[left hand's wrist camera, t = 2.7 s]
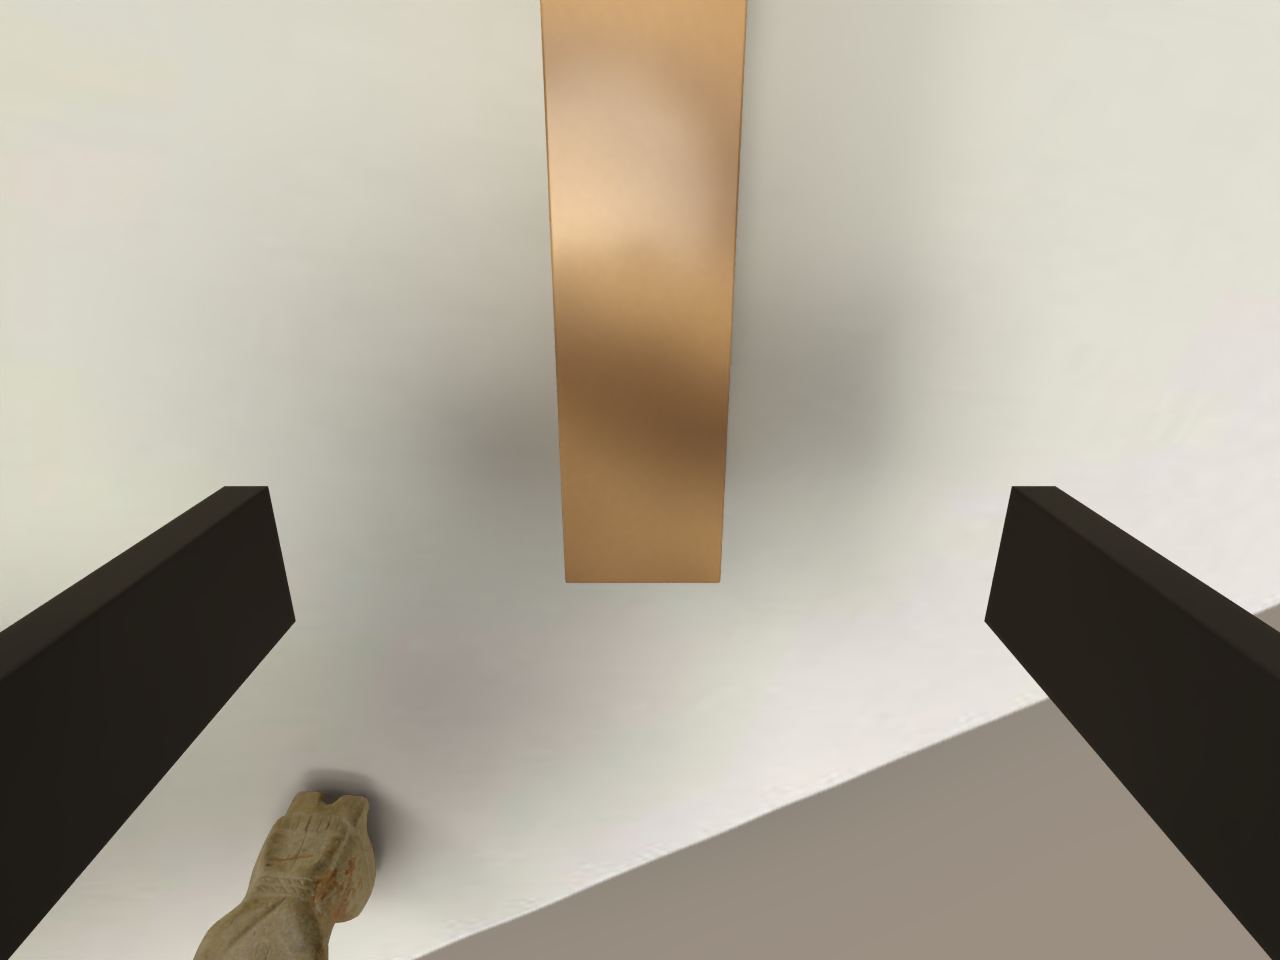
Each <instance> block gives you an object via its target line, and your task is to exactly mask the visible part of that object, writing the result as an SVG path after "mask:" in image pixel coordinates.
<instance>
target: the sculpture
mask: <svg viewBox="0 0 1280 960" xmlns="http://www.w3.org/2000/svg"><path fill="white" fill-rule="evenodd" d="M368 811H369V803H368V800H367V799H366V798H365V797H362V796H354V795H342V796H341V797H339V799H338V800H336V801H335V802H333V803H332V804H329V805H326V796H325V795H324V794H323V793H321V792H313V791H306V792H300V793H298V794H297V795H296V796H295V798H294V800H293V802H292V804H291V805H290V807H289V809H288V811H287V813H286V816H283V817H281V818H280V819H279V820H277V822H276V823H275V824H274V826H273V827H272V829H271V831H270V833H269V835H268V837H267V839H266V841H265V843H264V845H263V847H262V849H261V851H260V854H259V856H258V859H257V861H256V864H255V866H254V869H253V872H252V876H251V879H250V883H249V887H248V891H247V894H246V896H245V898H244V899H243V901H242V902H241V903H240V904H239V905H238V906H237V907H236V908H234V909H233V910H232V911H231V912H229V913H228V914H227V915H225V916H224V917H223V918H221V919H220V920H219V921H217V922H216V923H215V924H214V925H213V926H212V927H211V928H210V929H209V930H208V931H207V933H206V935H205V936H204V938H203V940H202V942H201V944H200V946H199V947H198V950H197V952H196V954H195V957H194V959H193V960H328V943H329V939H330V935H331V932H332V929H333V926H334V924H335V923H340V922H346V921H349V920H351V919H353V918H355V917H357V916H358V915H359V914H360V913H361V911H362V910H363V908H364V906H365V905H366V903H367V901H368V899H369V897H370V895H371V892H372V889H373V886H374V881H375V876H376V864H375V857H374V852H373V847H372V844H371V841H370V839H369V836H368V833H367V814H368Z"/></svg>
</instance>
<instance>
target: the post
mask: <svg viewBox="0 0 1280 960" xmlns="http://www.w3.org/2000/svg"><path fill="white" fill-rule="evenodd" d="M540 7H541V30H542V53H543V76H544V100H545V123H546V146H547V169H548V192H549V215H550V238H551V261H552V284H553V307H554V330H555V354H556V377H557V400H558V423H559V446H560V469H561V492H562V515H563V538H564V561H565V581H566V582H567V583H719V582H720V575H721V554H722V532H723V511H724V489H725V468H726V447H727V425H728V404H729V382H730V361H731V339H732V318H733V296H734V275H735V253H736V232H737V210H738V189H739V167H740V146H741V124H742V103H743V81H744V60H745V38H746V17H747V0H540Z"/></svg>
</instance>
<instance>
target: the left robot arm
mask: <svg viewBox="0 0 1280 960" xmlns="http://www.w3.org/2000/svg"><path fill="white" fill-rule="evenodd" d="M294 622H295V616H294V611H293V606H292V601H291V596H290V591H289V586H288V582H287V577H286V572H285V567H284V562H283V557H282V552H281V547H280V542H279V538H278V533H277V528H276V523H275V518H274V513H273V508H272V503H271V498H270V494H269V489H268V486H224V487H223V488H221V489H220V490H218V491H217V492H215V493H214V494H212V495H211V496H209V497H207V498H206V499H204V500H203V501H201V502H200V503H198V504H197V505H195V506H194V507H192V508H191V509H189V510H187V511H186V512H184V513H183V514H181V515H180V516H178V517H177V518H175V519H174V520H172V521H171V522H169V523H168V524H166V525H164V526H163V527H161V528H160V529H158V530H157V531H155V532H154V533H152V534H151V535H149V536H148V537H146V538H145V539H143V540H141V541H140V542H138V543H137V544H135V545H134V546H132V547H131V548H129V549H128V550H126V551H125V552H123V553H121V554H120V555H118V556H117V557H115V558H114V559H112V560H111V561H109V562H108V563H106V564H105V565H103V566H102V567H100V568H98V569H97V570H95V571H94V572H92V573H91V574H89V575H88V576H86V577H85V578H83V579H82V580H80V581H79V582H77V583H75V584H74V585H72V586H71V587H69V588H68V589H66V590H65V591H63V592H62V593H60V594H59V595H57V596H55V597H54V598H52V599H51V600H49V601H48V602H46V603H45V604H43V605H42V606H40V607H39V608H37V609H36V610H34V611H32V612H31V613H29V614H28V615H26V616H25V617H23V618H22V619H20V620H19V621H17V622H16V623H14V624H13V625H11V626H9V627H8V628H6V629H5V630H3V631H2V632H0V960H8V959H9V958H10V957H11V955H12V954H13V953H14V952H15V951H16V950H17V948H18V947H19V946H20V945H21V944H22V943H23V941H24V940H25V939H26V938H27V937H28V935H29V934H30V933H31V932H32V931H33V930H34V928H35V927H36V926H37V925H38V924H39V923H40V921H41V920H42V919H43V918H44V917H45V915H46V914H47V913H48V912H49V911H50V910H51V908H52V907H53V906H54V905H55V904H56V902H57V901H58V900H59V899H60V898H61V897H62V895H63V894H64V893H65V892H66V891H67V890H68V888H69V887H70V886H71V885H72V884H73V882H74V881H75V880H76V879H77V878H78V877H79V875H80V874H81V873H82V872H83V871H84V870H85V868H86V867H87V866H88V865H89V864H90V862H91V861H92V860H93V859H94V858H95V857H96V855H97V854H98V853H99V852H100V851H101V850H102V848H103V847H104V846H105V845H106V844H107V842H108V841H109V840H110V839H111V838H112V837H113V835H114V834H115V833H116V832H117V831H118V830H119V828H120V827H121V826H122V825H123V824H124V822H125V821H126V820H127V819H128V818H129V817H130V815H131V814H132V813H133V812H134V811H135V810H136V808H137V807H138V806H139V805H140V804H141V802H142V801H143V800H144V799H145V798H146V797H147V795H148V794H149V793H150V792H151V791H152V789H153V788H154V787H155V786H156V785H157V784H158V782H159V781H160V780H161V779H162V778H163V777H164V775H165V774H166V773H167V772H168V771H169V769H170V768H171V767H172V766H173V765H174V764H175V762H176V761H177V760H178V759H179V758H180V757H181V755H182V754H183V753H184V752H185V751H186V749H187V748H188V747H189V746H190V745H191V744H192V742H193V741H194V740H195V739H196V738H197V737H198V735H199V734H200V733H201V732H202V731H203V729H204V728H205V727H206V726H207V725H208V724H209V722H210V721H211V720H212V719H213V718H214V717H215V715H216V714H217V713H218V712H219V711H220V709H221V708H222V707H223V706H224V705H225V704H226V702H227V701H228V700H229V699H230V698H231V697H232V695H233V694H234V693H235V692H236V691H237V689H238V688H239V687H240V686H241V685H242V684H243V682H244V681H245V680H246V679H247V678H248V677H249V675H250V674H251V673H252V672H253V671H254V669H255V668H256V667H257V666H258V665H259V664H260V662H261V661H262V660H263V659H264V658H265V656H266V655H267V654H268V653H269V652H270V651H271V649H272V648H273V647H274V646H275V645H276V644H277V642H278V641H279V640H280V639H281V638H282V636H283V635H284V634H285V633H286V632H287V631H288V629H289V628H290V627H291V626H292V625H293V624H294ZM985 622H986V624H987V625H988V626H989V627H990V628H991V629H992V631H993V632H994V633H995V634H996V635H997V636H998V638H999V639H1000V640H1001V641H1002V642H1003V644H1004V645H1005V646H1006V647H1007V648H1008V649H1009V651H1010V652H1011V653H1012V654H1013V655H1014V656H1015V658H1016V659H1017V660H1018V661H1019V662H1020V664H1021V665H1022V666H1023V667H1024V668H1025V669H1026V671H1027V672H1028V673H1029V674H1030V675H1031V677H1032V678H1033V679H1034V680H1035V681H1036V682H1037V684H1038V685H1039V686H1040V687H1041V688H1042V689H1043V691H1044V692H1045V693H1046V694H1047V695H1048V697H1049V698H1050V699H1051V700H1052V701H1053V702H1054V704H1055V705H1056V706H1057V707H1058V708H1059V709H1060V711H1061V712H1062V713H1063V714H1064V715H1065V717H1066V718H1067V719H1068V720H1069V721H1070V722H1071V724H1072V725H1073V726H1074V727H1075V728H1076V729H1077V731H1078V732H1079V733H1080V734H1081V735H1082V737H1083V738H1084V739H1085V740H1086V741H1087V742H1088V744H1089V745H1090V746H1091V747H1092V748H1093V749H1094V751H1095V752H1096V753H1097V754H1098V755H1099V757H1100V758H1101V759H1102V760H1103V761H1104V762H1105V764H1106V765H1107V766H1108V767H1109V768H1110V769H1111V771H1112V772H1113V773H1114V774H1115V775H1116V777H1117V778H1118V779H1119V780H1120V781H1121V782H1122V784H1123V785H1124V786H1125V787H1126V788H1127V789H1128V791H1129V792H1130V793H1131V794H1132V795H1133V797H1134V798H1135V799H1136V800H1137V801H1138V802H1139V804H1140V805H1141V806H1142V807H1143V808H1144V810H1145V811H1146V812H1147V813H1148V814H1149V815H1150V817H1151V818H1152V819H1153V820H1154V821H1155V822H1156V824H1157V825H1158V826H1159V827H1160V828H1161V829H1162V831H1163V832H1164V833H1165V834H1166V835H1167V837H1168V838H1169V839H1170V840H1171V841H1172V842H1173V844H1174V845H1175V846H1176V847H1177V848H1178V850H1179V851H1180V852H1181V853H1182V854H1183V855H1184V857H1185V858H1186V859H1187V860H1188V861H1189V862H1190V864H1191V865H1192V866H1193V867H1194V868H1195V870H1196V871H1197V872H1198V873H1199V874H1200V875H1201V877H1202V878H1203V879H1204V880H1205V881H1206V882H1207V884H1208V885H1209V886H1210V887H1211V888H1212V890H1213V891H1214V892H1215V893H1216V894H1217V895H1218V897H1219V898H1220V899H1221V900H1222V901H1223V902H1224V904H1225V905H1226V906H1227V907H1228V908H1229V910H1230V911H1231V912H1232V913H1233V914H1234V915H1235V917H1236V918H1237V919H1238V920H1239V921H1240V923H1241V924H1242V925H1243V926H1244V927H1245V928H1246V930H1247V931H1248V932H1249V933H1250V934H1251V935H1252V937H1253V938H1254V939H1255V940H1256V941H1257V942H1258V944H1259V945H1260V946H1261V947H1262V948H1263V949H1264V951H1265V952H1266V953H1267V954H1268V955H1269V957H1270V958H1271V959H1272V960H1280V632H1278V631H1277V630H1275V629H1274V628H1272V627H1271V626H1269V625H1267V624H1266V623H1264V622H1263V621H1261V620H1260V619H1258V618H1257V617H1255V616H1254V615H1252V614H1251V613H1249V612H1248V611H1246V610H1244V609H1243V608H1241V607H1240V606H1238V605H1237V604H1235V603H1234V602H1232V601H1231V600H1229V599H1228V598H1226V597H1225V596H1223V595H1221V594H1220V593H1218V592H1217V591H1215V590H1214V589H1212V588H1211V587H1209V586H1208V585H1206V584H1205V583H1203V582H1201V581H1200V580H1198V579H1197V578H1195V577H1194V576H1192V575H1191V574H1189V573H1188V572H1186V571H1185V570H1183V569H1182V568H1180V567H1178V566H1177V565H1175V564H1174V563H1172V562H1171V561H1169V560H1168V559H1166V558H1165V557H1163V556H1162V555H1160V554H1159V553H1157V552H1155V551H1154V550H1152V549H1151V548H1149V547H1148V546H1146V545H1145V544H1143V543H1142V542H1140V541H1139V540H1137V539H1135V538H1134V537H1132V536H1131V535H1129V534H1128V533H1126V532H1125V531H1123V530H1122V529H1120V528H1119V527H1117V526H1116V525H1114V524H1112V523H1111V522H1109V521H1108V520H1106V519H1105V518H1103V517H1102V516H1100V515H1099V514H1097V513H1096V512H1094V511H1093V510H1091V509H1089V508H1088V507H1086V506H1085V505H1083V504H1082V503H1080V502H1079V501H1077V500H1076V499H1074V498H1073V497H1071V496H1069V495H1068V494H1066V493H1065V492H1063V491H1062V490H1060V489H1059V488H1057V487H1056V486H1012V489H1011V494H1010V498H1009V503H1008V508H1007V513H1006V518H1005V523H1004V528H1003V533H1002V538H1001V542H1000V547H999V552H998V557H997V562H996V567H995V572H994V577H993V582H992V586H991V591H990V596H989V601H988V606H987V611H986V616H985Z"/></svg>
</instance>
